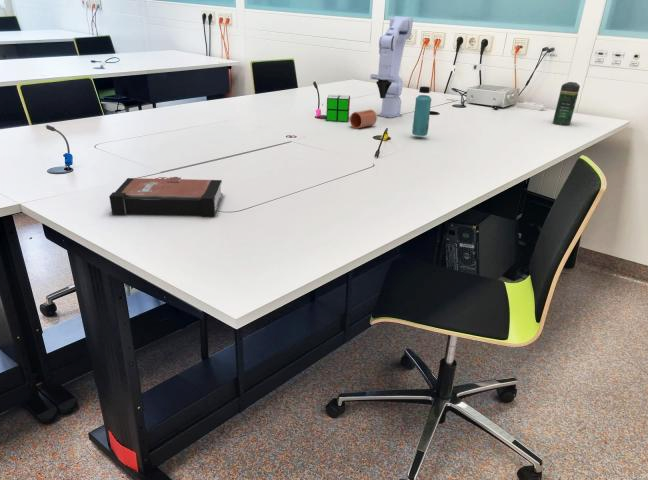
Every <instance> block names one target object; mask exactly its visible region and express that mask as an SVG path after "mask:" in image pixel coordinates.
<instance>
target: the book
mask: <svg viewBox="0 0 648 480" xmlns="http://www.w3.org/2000/svg"><path fill="white" fill-rule="evenodd" d="M222 184H223V180H222V179H193V178H192V179H191V178H190V179H186V178H182V177H178V176H173V177H171V176H170V177H169V178H148V177H147V178H145V177H144V178H142V177H141V178H140V177H127V178H126V179H125V180H124V181H123V183H122V184H121V185H120V186H119V187H118V188H117V189H116V190H115V192H114V191H113V192H112V193H111V194H110V195H109V196H108V197H109V203H110V209H111V215H112V216H126V215H139V216H142V215H144V216H187V217H188V216H190V217H191V216H192V217H202V218H215V217H216V216H217V215H216V214H217V212H218V209H219V208H220V207H219V206H220V204H221V201H222V198H223V196H224V194H223V192H222V187H221V186H222Z"/></svg>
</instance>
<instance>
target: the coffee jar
mask: <svg viewBox="0 0 648 480" xmlns="http://www.w3.org/2000/svg"><path fill="white" fill-rule="evenodd" d="M580 87H581V86H580V84H578V82H574V81H568V82H565V83H563V84H562V85H561V88H560V91H559V95H558V99H557V103H556V108H555V112H554V115H553V121H552V123H553V124H556V125H559V126H563V125H564V126H568V125H569V124H571V122H572V120H573V115H574V111H575V107H576V104H577V101H578V97H579V92H580Z"/></svg>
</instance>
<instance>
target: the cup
mask: <svg viewBox="0 0 648 480" xmlns="http://www.w3.org/2000/svg"><path fill="white" fill-rule="evenodd" d="M376 122H377V113H376V112H375V111H374V110H373V109H364V110H359V111H355V112H352V113H351V114H350V116H349V123H350V125H351V127H352V128H353V129H356V130H357V129H362V128H367V127H372V126H374V125H375V124H376Z"/></svg>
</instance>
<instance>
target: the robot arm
mask: <svg viewBox="0 0 648 480" xmlns="http://www.w3.org/2000/svg"><path fill="white" fill-rule="evenodd" d="M413 22H414V20H413V17H412V16H395V15H392V16H391V17H390V19H389V28H387V30H386V32H385V33H384V35H381V36H380V37H379V40H378V54H379V60H378V73H377V74H373V73H372V74H370V75H369V80H374V81H375V80H376V82H375V83H376V85H377V89H378V92H379V99H381V100H382V101H381V111H380V112H381V113H376V116H380V117H385V118H391V119H392V118H395V117H400V116H402V114H401V109H402V99H401V97H400V96H401V95H402V92H403V84H404V83H403V82H404V81H403V79H402V77H401V76H400V75H399V74H400V69H401V63H402V59H403V53H404V49H405V45H406V42H407V40H409V39H410V38H411V34H412V31H413V24H414V23H413Z"/></svg>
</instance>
